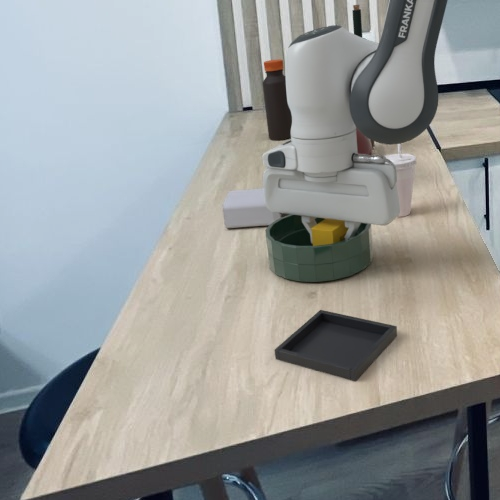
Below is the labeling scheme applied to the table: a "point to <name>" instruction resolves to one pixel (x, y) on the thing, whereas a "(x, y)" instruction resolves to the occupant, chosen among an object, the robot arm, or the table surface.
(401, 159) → the smoothie
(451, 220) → the table surface
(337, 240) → the sponge
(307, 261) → the basin
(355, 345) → the square tray
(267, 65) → the vinegar
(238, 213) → the charger
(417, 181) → the table surface
